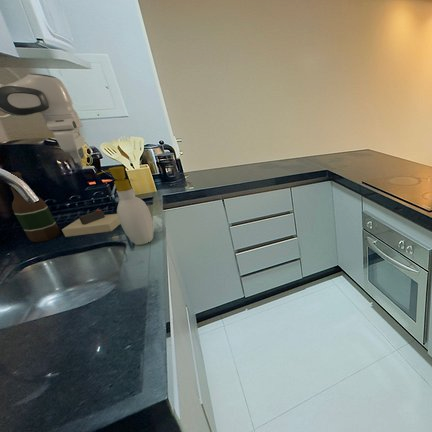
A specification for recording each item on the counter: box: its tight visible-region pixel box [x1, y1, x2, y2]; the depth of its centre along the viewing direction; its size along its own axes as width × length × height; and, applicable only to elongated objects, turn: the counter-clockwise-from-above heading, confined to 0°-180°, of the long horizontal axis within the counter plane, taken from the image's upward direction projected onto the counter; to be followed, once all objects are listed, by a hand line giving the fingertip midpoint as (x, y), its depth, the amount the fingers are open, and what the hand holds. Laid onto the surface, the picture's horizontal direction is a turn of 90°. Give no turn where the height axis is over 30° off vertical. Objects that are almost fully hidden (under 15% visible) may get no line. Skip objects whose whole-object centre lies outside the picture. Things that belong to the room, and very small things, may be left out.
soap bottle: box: [96, 165, 154, 246], centre depth 98 cm, size 14×9×26 cm, turn 34°
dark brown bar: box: [78, 209, 105, 225], centre depth 111 cm, size 7×1×3 cm, turn 167°
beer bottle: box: [9, 171, 61, 243], centre depth 101 cm, size 8×8×24 cm
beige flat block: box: [61, 213, 121, 238], centre depth 112 cm, size 14×11×3 cm
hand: (80, 160), depth 113 cm, fingers open, 8 cm apart
